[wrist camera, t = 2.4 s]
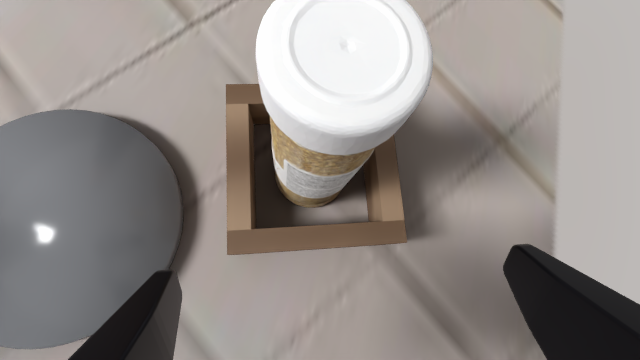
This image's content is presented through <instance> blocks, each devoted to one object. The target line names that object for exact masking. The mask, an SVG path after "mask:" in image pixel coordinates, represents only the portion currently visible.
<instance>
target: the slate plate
mask: <svg viewBox="0 0 640 360" xmlns="http://www.w3.org/2000/svg"><path fill="white" fill-rule="evenodd" d="M182 226H183V200H182V193H181V189H180V186H179V182H178V179H177V177H176V175H175V172H174V170H173V168H172V166H171V165H170V163H169V162H168V160H167V158H166V157H165V156H164V154H163V153H162V152H161V151H160V150H159V149H158V147H157V146H156V145H154V144H153V143H152V142H151V141H150V140H149V139H148V138H146V137H145V136H144V135H143V134H142V133H140V132H139V131H138V130H136V129H134V128H133V127H131V126H130V125H128V124H126V123H124V122H122V121H120V120H118V119H116V118H113V117H110V116H107V115H104V114H101V113H96V112H91V111H85V110H53V111H46V112H40V113H36V114H32V115H28V116H24V117H22V118H19V119H16V120H14V121H11V122H8V123H6V124H4V125H2V126H1V127H0V346H2V347H8V348H15V349H40V348H49V347H55V346H59V345H63V344H67V343H71V342H74V341H77V340H79V339H82V338H85V337H87V336H90V335H92V334H94V333H95V332H96V331H97V330H98V329H99V328H100V327H101V326H102V325H103V324H104V323H105V322H106V321H107V320H108V319H109V318H110V317H111V316H112V315H113V314H114V313H115V312H116V310H117V309H118V308H119V307H120V306H121V305H122V304H123V303H124V302H125V301H126V300H127V299H128V298H129V297H130V296H131V295H132V294H133V293H134V292H135V291H136V290H137V289H138V288H139V287H140V286H141V285H142V284H143V283H144V282H145V281H146V280H147V279H148V278H149V277H150V276H151V275H152V274H153V273H154V272H156V271H158V270H167V269H169V267H170V265H171V263H172V261H173V258H174V256H175V254H176V251H177V249H178V245H179V241H180V237H181V233H182Z"/></svg>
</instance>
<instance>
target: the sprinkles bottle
mask: <svg viewBox="0 0 640 360" xmlns="http://www.w3.org/2000/svg"><path fill="white" fill-rule="evenodd" d="M256 63H257V72H258V80H259V85H260V91H261V96H262V100H263V103H264V105H265V107H266V110H267V112H268V113H269V115H270V124H271V135H272V153H273V161H274V166H275V179H276V183H277V185H278V187H279V189H280V191H281V192H282V193H283V195H284V196H285V197H286V198H287V199H289V200H290V201H291V202H293V203H294V204H296V205H299V206H304V207H319V206H323V205H325V204H327V203H329V202H330V201H332V200H333V199H334V198H335V197H336V196H337V195H338V194H339V193H340V191H341V190H342V188H343V187H344V186H345V185H346V184H347V183H348V182H349V180H350V179H351V178H352V177H353V176H354V175H355V174H356V172H357V171H358V170H359V169H360V168H361V167H362V165H363V164H364V163H365V162H366V161H367V160H368V158H369V157H370V156H371V154H372V152H373V151H374V149H375V147H377V146H378V145H380V144H381V143H383V142H385V141H386V140H388V139H389V138H390V137H391V136H392V135H393V134H395V132H396V131H397V130H398V129H399V128H400V127H401V126H402V125H403V124H404V123H405V122H406V120H407V119H408V118H409V117H410V115H411V114H412V113H413V111H414V110H415V109H416V108H417V106H418V105H419V103H420V102H421V100H422V99H423V97H424V95H425V93H426V91H427V89H428V86H429V83H430V79H431V75H432V67H433V53H432V46H431V42H430V38H429V35H428V32H427V30H426V28H425V25H424V24H423V22H422V20H421V18H420V17H419V15H418V14H417V13H416V11H415V10H414V9H413V8H412V6H411V5H410V4H409V3H408V2H407V1H406V0H275V1H274V2H273V3H272V4H271V6H270V8H269V9H268V10H267V12H266V14H265V15H264V17H263V19H262V22H261V25H260V27H259V30H258V34H257V40H256Z"/></svg>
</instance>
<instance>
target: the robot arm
mask: <svg viewBox="0 0 640 360" xmlns="http://www.w3.org/2000/svg"><path fill="white" fill-rule="evenodd" d="M503 271H504V275H505V277H506V279H507V281H508V283H509V286H510V288H511V290H512V292H513V294H514V297H515V299H516V301H517V303H518V305H519V308H520V310H521V312H522V314H523V316H524V319H525V321H526V323H527V325H528V327H529V329H530V330H531V332H532V334H533V336H534V338H535V339H536V341H537V343H538V345H539V346H540V348H541V350H542V352H543V353H544V355H545V357H546V359H547V360H640V305H639V304H638V303H636V302H634V301H632V300H630V299H629V298H626V297H625V296H623V295H621V294H619V293H618V292H616V291H614V290H612V289H610V288H608V287H607V286H604V285H603V284H601V283H599V282H598V281H596V280H594V279H592V278H590V277H588V276H587V275H585V274H583V273H581V272H579V271H578V270H576V269H574V268H572V267H570V266H568V265H567V264H565V263H563V262H561V261H559V260H558V259H556V258H554V257H552V256H550V255H549V254H547V253H545V252H543V251H541V250H540V249H538V248H536V247H534V246H532V245H530V244H519V245H514V246H513V247H512V248H511V250H510V252H509V254H508V256H507V258H506V261H505V263H504V265H503ZM181 303H182V290H181V287H180V284H179V281H178V277H177V274H176V272H175V270H173V269H167V270H158V271H156V272H154V273H153V274H152V275H151V276H150V277H149V278H148V279H147V280H146V281H145V282H144V283H143V284H142V285H141V286H140V287H139V288H138V289H137V290H136V291H135V292H134V293H133V294H132V295H131V296H130V297H129V298H128V299H127V300H126V301H125V302H124V303H123V304H122V305H121V306H120V307H119V308H118V309H117V310H116V312H115V313H114V314H113V315H112V316H111V317H110V318H109V319H108V320H107V321H106V322H105V323H104V324H103V325H102V326H101V327H100V328H99V329H98V330H97V331H96V332H95V333H94V334H93V335H92V336H91V337H90V338H89V339H88V340H87V341H86V342H85V343H84V344H83V345H82V346H81V347H80V348H79V349H78V350H77V351H76V352H75V353H74V354H73V355H72V356H71V357H70V358H69V359H68V360H173V355H174V349H175V343H176V336H177V329H178V323H179V316H180V309H181Z"/></svg>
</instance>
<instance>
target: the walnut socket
mask: <svg viewBox="0 0 640 360" xmlns="http://www.w3.org/2000/svg"><path fill="white" fill-rule="evenodd" d="M253 124H270V115H269V113H268V112H267V110H266V107H265V105H264V103H263V100H262V96H261V91H260V85H259V84H226V147H227V255H239V254H254V253H269V252H283V251H298V250H312V249H327V248H341V247H356V246H371V245H385V244H397V243H407V237H406V229H405V221H404V213H403V205H402V197H401V188H400V180H399V172H398V164H397V156H396V148H395V140H394V134H393V135H392V136H391V137H390V138H389V139H388V140H386V141H385V142H383V143H381V144H380V145H378V146H377V147H375V149H374V151H373V152H372V154H371V156H370V157H369V158H368V160H367V161H366V162H365V163H364V164H363V167H364V177H365V187H366V197H367V207H368V218H369V222H363V223H347V224H330V225H314V226H297V227H281V228H264V229H256V205H255V167H254V129H253Z"/></svg>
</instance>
